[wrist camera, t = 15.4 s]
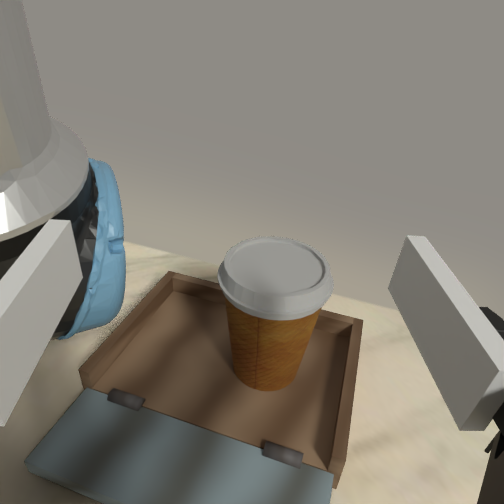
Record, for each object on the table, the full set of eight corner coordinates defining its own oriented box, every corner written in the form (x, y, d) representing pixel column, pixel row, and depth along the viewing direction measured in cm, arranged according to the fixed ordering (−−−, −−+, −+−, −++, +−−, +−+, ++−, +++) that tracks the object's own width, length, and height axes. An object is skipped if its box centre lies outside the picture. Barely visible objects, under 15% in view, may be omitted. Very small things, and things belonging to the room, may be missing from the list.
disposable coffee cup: (263, 317, 43) (273, 223, 37) (333, 367, 38) (359, 267, 31) (195, 361, 37) (193, 258, 31) (267, 428, 32) (282, 320, 25)
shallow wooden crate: (25, 473, 30) (11, 443, 28) (170, 297, 48) (168, 270, 46) (320, 600, 24) (331, 575, 22) (355, 346, 43) (363, 320, 41)
